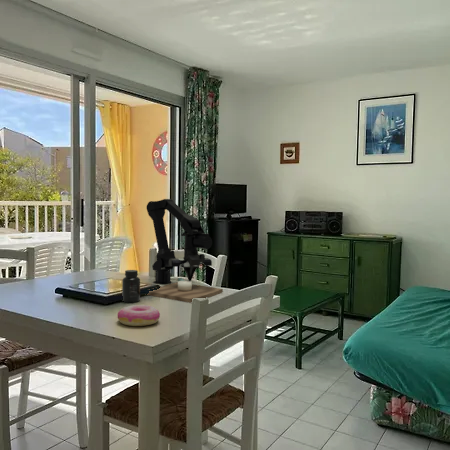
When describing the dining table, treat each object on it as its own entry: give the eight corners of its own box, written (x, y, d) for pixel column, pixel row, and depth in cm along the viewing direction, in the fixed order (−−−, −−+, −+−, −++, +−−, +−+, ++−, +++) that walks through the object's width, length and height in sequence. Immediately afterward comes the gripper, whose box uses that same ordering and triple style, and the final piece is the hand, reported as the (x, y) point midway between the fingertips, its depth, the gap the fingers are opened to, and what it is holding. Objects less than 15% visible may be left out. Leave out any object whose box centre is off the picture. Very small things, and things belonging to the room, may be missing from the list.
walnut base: (144, 294, 190) (144, 290, 189) (177, 285, 210) (178, 281, 210) (192, 303, 178) (192, 298, 178) (222, 292, 199) (222, 288, 199)
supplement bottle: (141, 299, 181) (142, 269, 180) (136, 303, 174) (137, 272, 173) (125, 298, 181) (125, 268, 181) (119, 302, 175) (120, 271, 174)
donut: (167, 323, 150) (168, 308, 150) (135, 331, 140) (135, 315, 140) (142, 315, 159) (142, 301, 159) (110, 322, 149) (110, 307, 149)
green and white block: (193, 290, 192) (193, 283, 192) (179, 291, 190) (179, 283, 190) (186, 284, 204) (186, 277, 204) (173, 284, 203) (173, 277, 202)
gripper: (175, 249, 191) (174, 285, 192) (216, 248, 198) (215, 284, 199) (168, 246, 201) (167, 280, 203) (208, 245, 208) (207, 279, 209)
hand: (189, 281), depth 203 cm, fingers closed
